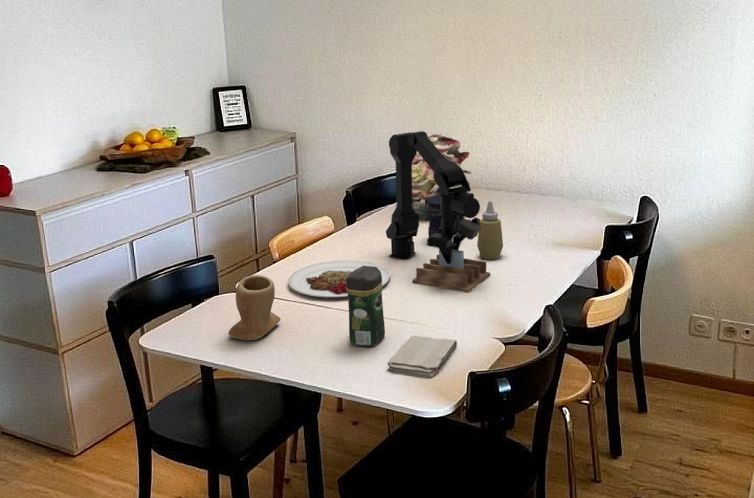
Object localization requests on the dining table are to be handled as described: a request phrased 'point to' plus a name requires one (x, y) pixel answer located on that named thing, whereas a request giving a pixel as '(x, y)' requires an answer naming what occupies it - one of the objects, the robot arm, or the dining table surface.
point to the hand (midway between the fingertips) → (451, 261)
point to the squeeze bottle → (490, 234)
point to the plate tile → (453, 259)
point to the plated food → (328, 278)
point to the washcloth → (422, 356)
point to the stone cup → (254, 308)
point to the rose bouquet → (423, 173)
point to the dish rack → (452, 275)
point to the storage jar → (434, 215)
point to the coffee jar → (365, 306)
